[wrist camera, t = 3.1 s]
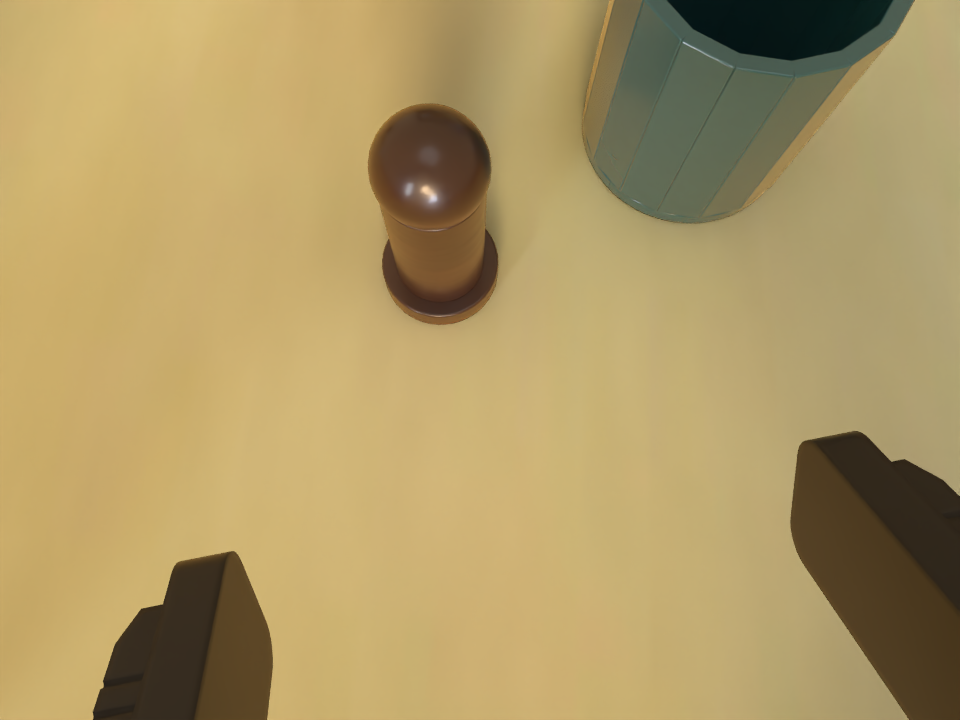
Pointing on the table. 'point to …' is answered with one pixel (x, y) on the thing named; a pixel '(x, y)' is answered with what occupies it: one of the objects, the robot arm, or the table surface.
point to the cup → (720, 94)
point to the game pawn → (434, 212)
